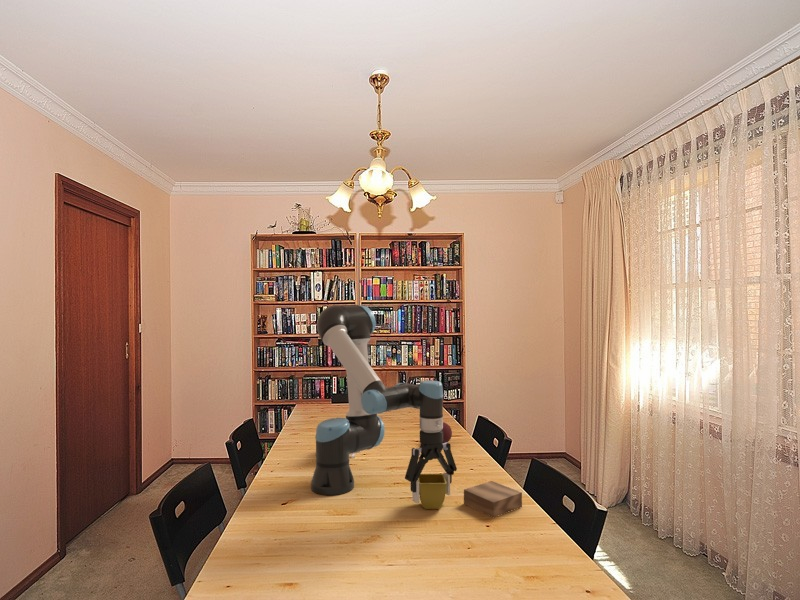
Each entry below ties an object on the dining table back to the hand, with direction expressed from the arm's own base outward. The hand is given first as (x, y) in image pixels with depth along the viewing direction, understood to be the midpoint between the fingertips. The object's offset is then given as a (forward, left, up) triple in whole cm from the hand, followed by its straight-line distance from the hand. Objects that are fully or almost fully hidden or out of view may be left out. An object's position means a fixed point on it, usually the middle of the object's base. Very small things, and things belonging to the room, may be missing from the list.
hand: (431, 497), depth 160 cm
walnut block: (+17, -10, -3) cm, 20 cm away
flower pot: (0, 0, -3) cm, 3 cm away
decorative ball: (+45, +55, -3) cm, 71 cm away
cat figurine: (+2, +64, -3) cm, 64 cm away
